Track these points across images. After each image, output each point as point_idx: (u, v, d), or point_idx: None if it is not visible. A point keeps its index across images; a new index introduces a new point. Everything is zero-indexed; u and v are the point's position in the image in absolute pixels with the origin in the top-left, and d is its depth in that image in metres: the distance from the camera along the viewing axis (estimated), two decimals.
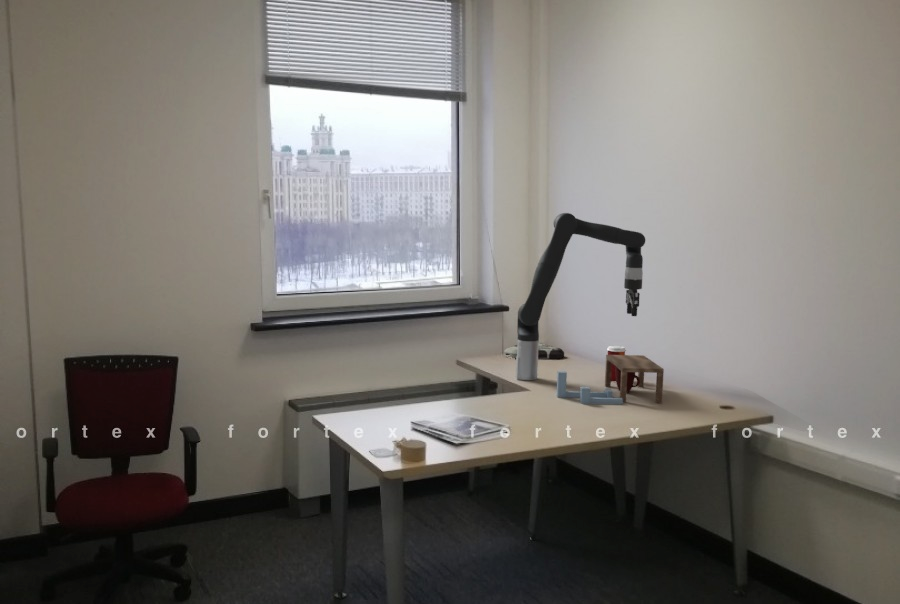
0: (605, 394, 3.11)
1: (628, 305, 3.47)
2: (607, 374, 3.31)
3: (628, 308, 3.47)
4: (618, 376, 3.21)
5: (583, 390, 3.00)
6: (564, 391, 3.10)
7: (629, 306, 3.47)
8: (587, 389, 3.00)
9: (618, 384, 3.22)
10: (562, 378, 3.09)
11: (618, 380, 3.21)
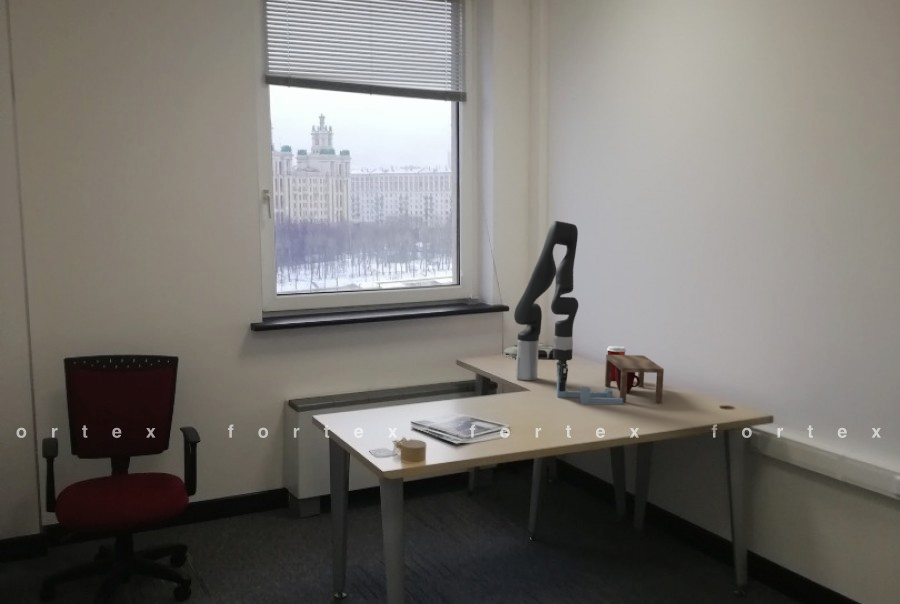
0: (605, 394, 3.11)
1: None
2: (607, 374, 3.31)
3: None
4: (618, 376, 3.21)
5: (583, 390, 3.00)
6: (564, 391, 3.10)
7: None
8: (587, 389, 3.00)
9: (618, 384, 3.22)
10: None
11: (618, 380, 3.21)
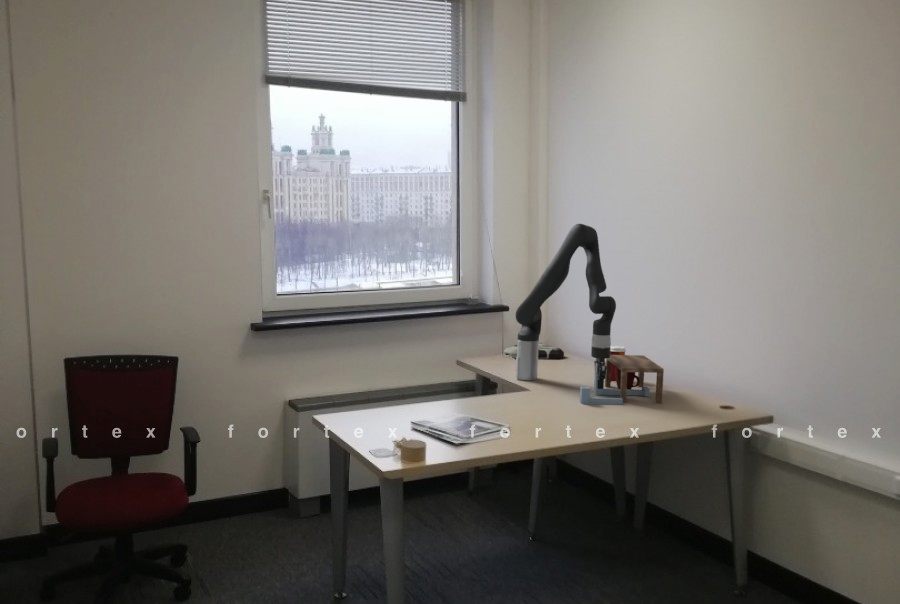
0: (642, 392, 3.17)
1: None
2: (607, 374, 3.31)
3: None
4: (618, 376, 3.21)
5: (583, 390, 3.00)
6: None
7: None
8: (587, 389, 3.00)
9: (618, 384, 3.22)
10: None
11: (618, 380, 3.21)
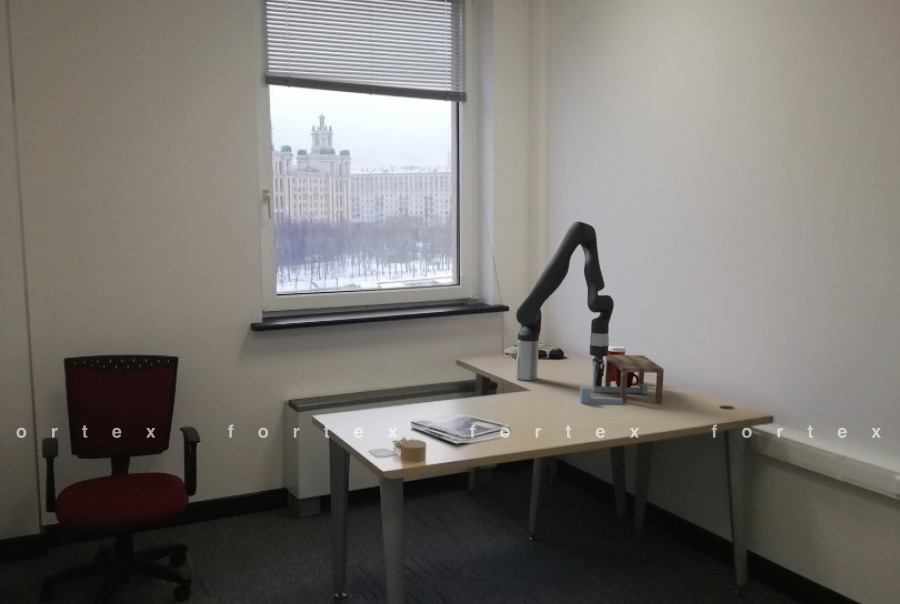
0: (640, 389, 3.21)
1: None
2: (607, 374, 3.31)
3: None
4: (617, 375, 3.23)
5: (583, 390, 3.00)
6: None
7: None
8: (587, 389, 3.00)
9: (617, 383, 3.24)
10: None
11: (617, 379, 3.23)
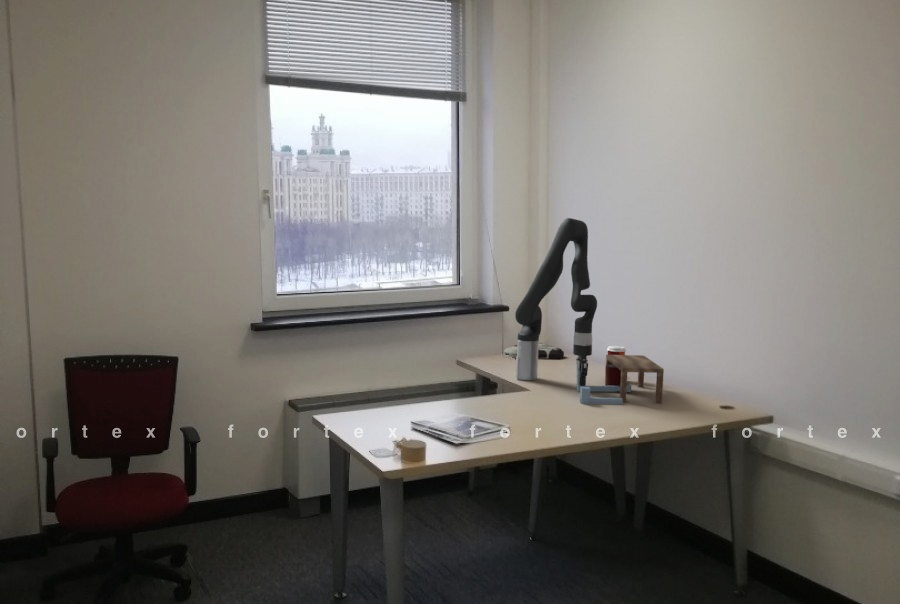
0: None
1: None
2: None
3: None
4: (606, 373, 3.26)
5: (583, 390, 3.00)
6: None
7: None
8: (587, 389, 3.00)
9: (607, 381, 3.27)
10: None
11: (606, 377, 3.26)
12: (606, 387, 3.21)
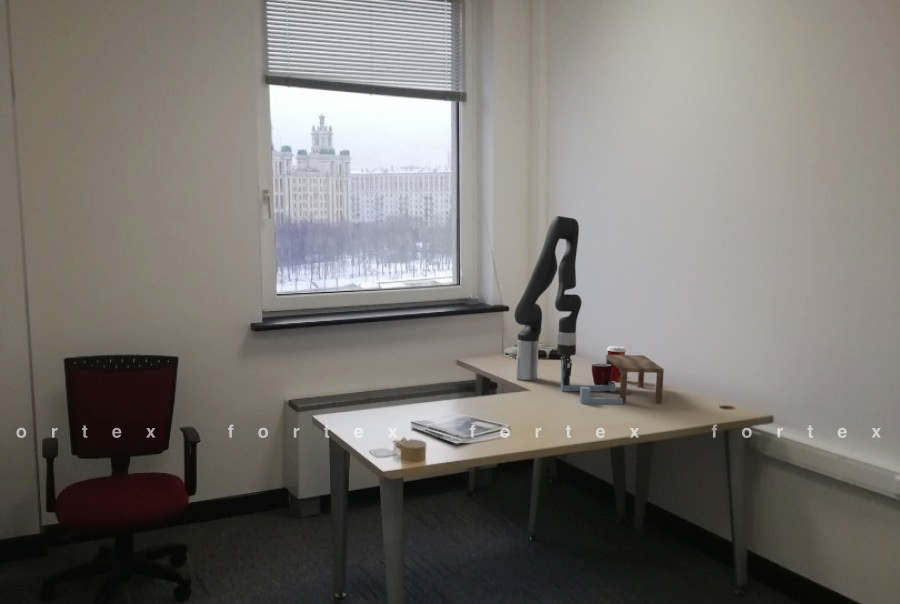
0: (608, 387, 3.21)
1: None
2: None
3: None
4: None
5: (583, 390, 3.00)
6: (568, 385, 3.21)
7: None
8: (587, 389, 3.00)
9: None
10: None
11: None
12: (590, 386, 3.21)
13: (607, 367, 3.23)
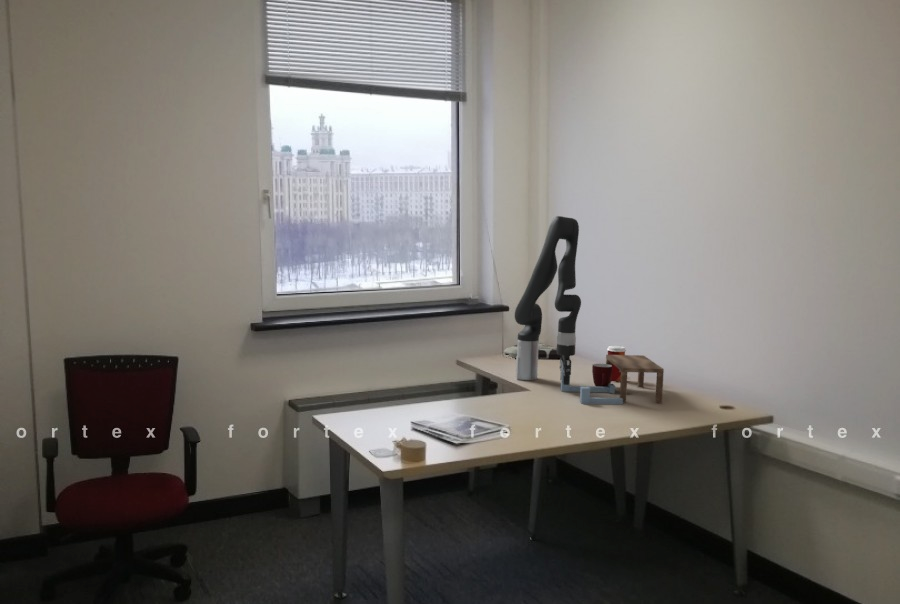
0: (608, 389, 3.21)
1: None
2: None
3: None
4: None
5: (583, 390, 3.00)
6: (568, 385, 3.21)
7: None
8: (587, 389, 3.00)
9: None
10: None
11: None
12: (590, 388, 3.21)
13: (608, 368, 3.23)
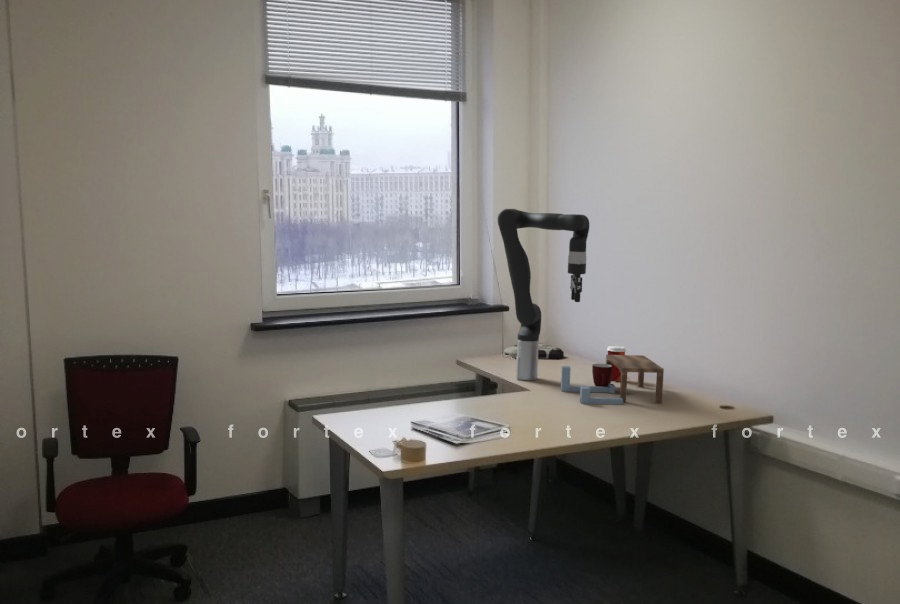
0: (608, 389, 3.21)
1: (572, 291, 3.33)
2: None
3: (572, 294, 3.33)
4: None
5: (583, 390, 3.00)
6: (568, 385, 3.21)
7: (573, 292, 3.33)
8: (587, 389, 3.00)
9: None
10: (566, 373, 3.20)
11: None
12: (590, 388, 3.21)
13: (608, 368, 3.23)
